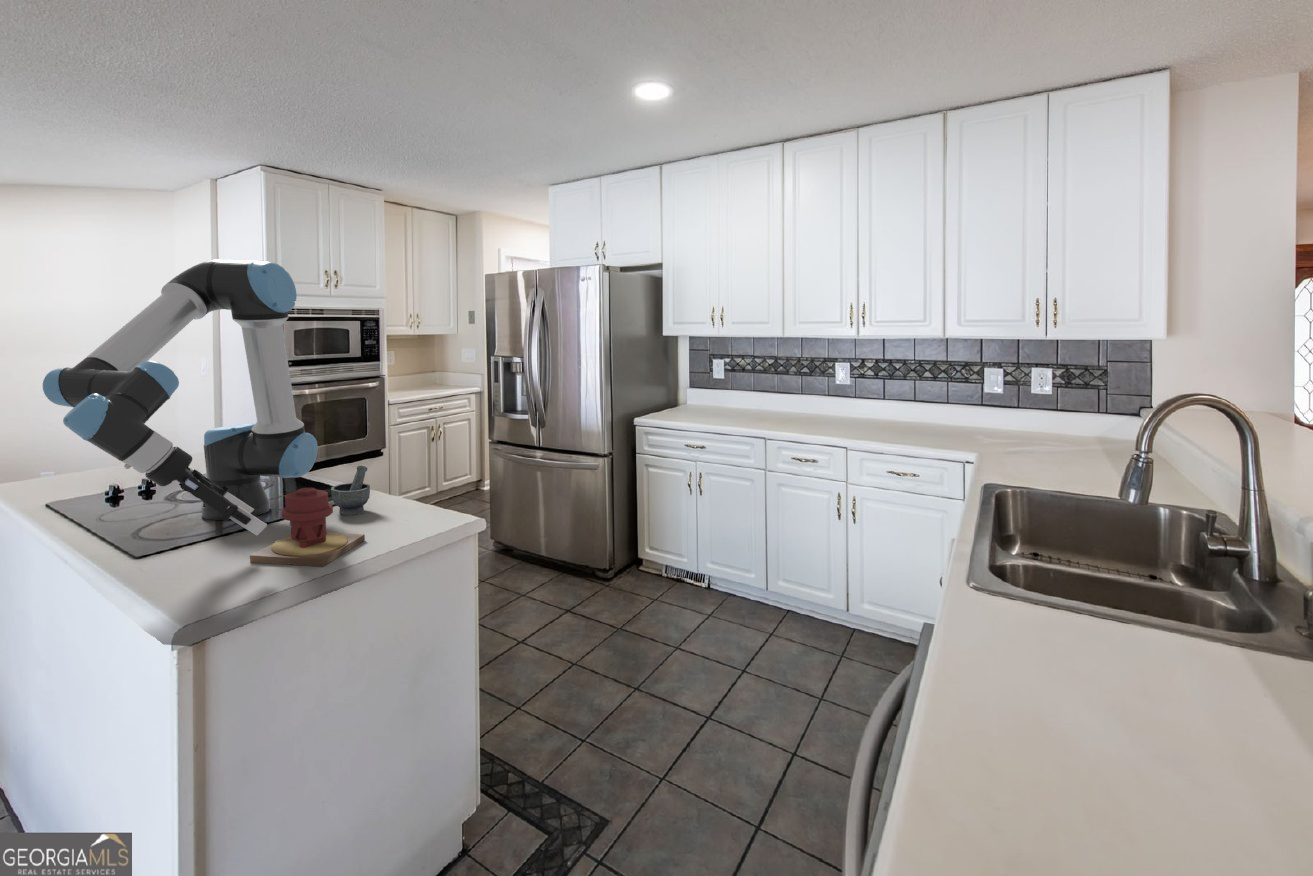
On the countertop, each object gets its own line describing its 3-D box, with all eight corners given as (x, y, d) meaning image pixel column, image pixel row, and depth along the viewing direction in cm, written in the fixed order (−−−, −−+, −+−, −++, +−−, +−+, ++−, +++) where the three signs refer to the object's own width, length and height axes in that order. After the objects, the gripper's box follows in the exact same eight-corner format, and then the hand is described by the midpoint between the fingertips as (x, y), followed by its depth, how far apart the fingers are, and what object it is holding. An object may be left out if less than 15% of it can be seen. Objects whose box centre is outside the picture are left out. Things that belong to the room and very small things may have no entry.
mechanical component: (301, 553, 135) (273, 544, 140) (344, 541, 144) (316, 533, 149) (298, 498, 133) (270, 490, 138) (341, 488, 142) (313, 482, 147)
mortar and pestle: (355, 518, 166) (353, 474, 164) (323, 515, 168) (321, 470, 166) (381, 507, 177) (380, 465, 175) (351, 504, 179) (350, 462, 177)
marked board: (299, 536, 151) (299, 529, 151) (364, 540, 150) (364, 533, 150) (249, 562, 134) (249, 553, 134) (322, 566, 134) (322, 558, 133)
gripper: (138, 463, 130) (231, 521, 142) (147, 488, 111) (253, 553, 124) (169, 435, 132) (257, 495, 145) (182, 456, 114) (282, 522, 126)
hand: (255, 521), depth 134 cm, fingers open, 13 cm apart
